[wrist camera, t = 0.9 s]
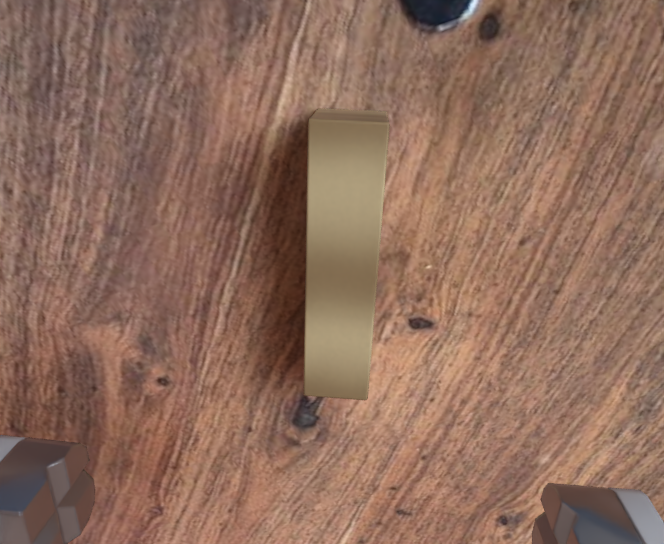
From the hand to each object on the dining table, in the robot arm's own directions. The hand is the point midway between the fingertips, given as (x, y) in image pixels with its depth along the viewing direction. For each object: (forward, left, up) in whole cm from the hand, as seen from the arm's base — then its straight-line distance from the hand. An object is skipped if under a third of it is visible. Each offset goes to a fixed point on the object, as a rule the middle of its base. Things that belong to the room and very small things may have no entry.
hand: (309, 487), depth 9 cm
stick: (0, 0, -12) cm, 12 cm away
